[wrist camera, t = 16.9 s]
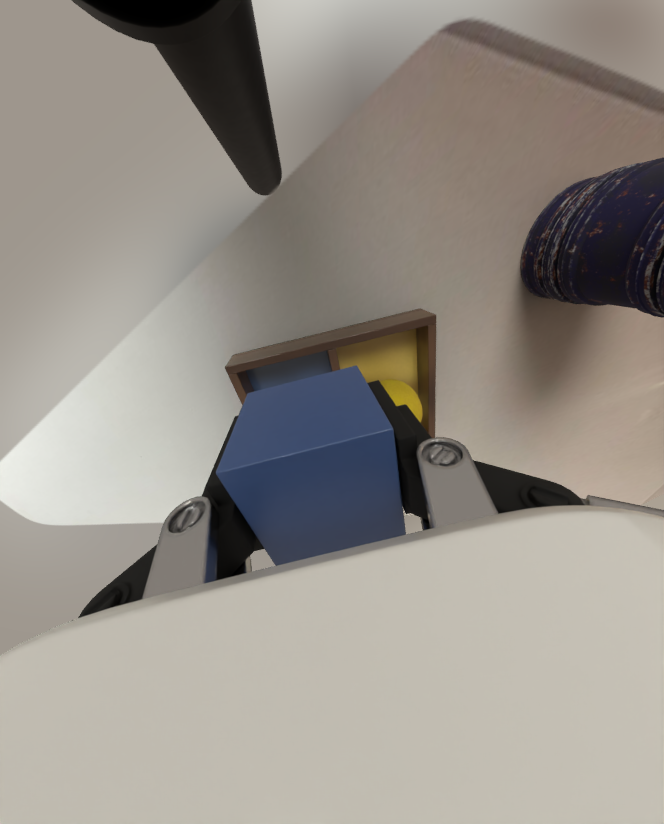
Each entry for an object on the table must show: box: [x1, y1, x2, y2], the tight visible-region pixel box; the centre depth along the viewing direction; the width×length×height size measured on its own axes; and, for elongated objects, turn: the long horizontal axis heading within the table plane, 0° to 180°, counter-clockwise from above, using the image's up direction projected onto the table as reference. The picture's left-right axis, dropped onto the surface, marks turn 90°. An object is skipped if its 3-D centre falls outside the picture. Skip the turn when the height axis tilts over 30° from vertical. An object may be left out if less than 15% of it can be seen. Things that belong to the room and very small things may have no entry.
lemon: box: [380, 379, 423, 423], centre depth 26 cm, size 6×6×8 cm
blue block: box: [216, 366, 406, 566], centre depth 9 cm, size 4×4×4 cm
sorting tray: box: [225, 309, 436, 438], centre depth 29 cm, size 16×20×4 cm
